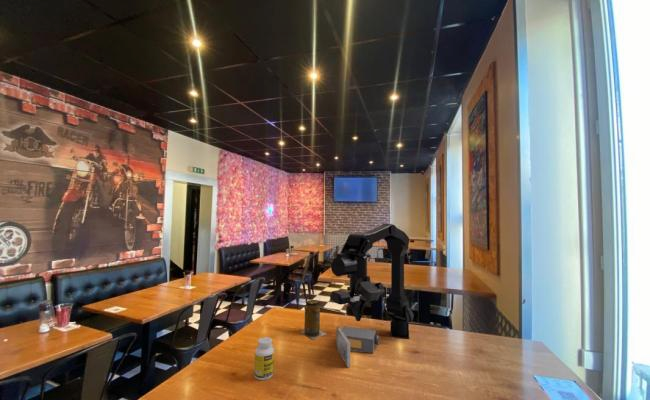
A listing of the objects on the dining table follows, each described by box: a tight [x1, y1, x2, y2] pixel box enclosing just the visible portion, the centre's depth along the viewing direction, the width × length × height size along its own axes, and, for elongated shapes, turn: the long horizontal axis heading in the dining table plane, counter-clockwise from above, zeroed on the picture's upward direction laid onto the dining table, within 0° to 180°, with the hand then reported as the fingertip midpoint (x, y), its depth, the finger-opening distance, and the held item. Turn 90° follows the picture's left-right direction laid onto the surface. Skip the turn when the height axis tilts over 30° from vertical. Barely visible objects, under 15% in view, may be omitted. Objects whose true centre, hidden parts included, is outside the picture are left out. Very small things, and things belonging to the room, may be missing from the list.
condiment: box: [299, 299, 327, 340], centre depth 105 cm, size 7×8×12 cm
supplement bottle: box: [253, 336, 275, 381], centre depth 77 cm, size 5×5×10 cm
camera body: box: [336, 325, 380, 354], centre depth 95 cm, size 14×9×7 cm
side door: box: [336, 328, 351, 368], centre depth 86 cm, size 11×2×7 cm, turn 13°
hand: (358, 320), depth 87 cm, fingers closed
